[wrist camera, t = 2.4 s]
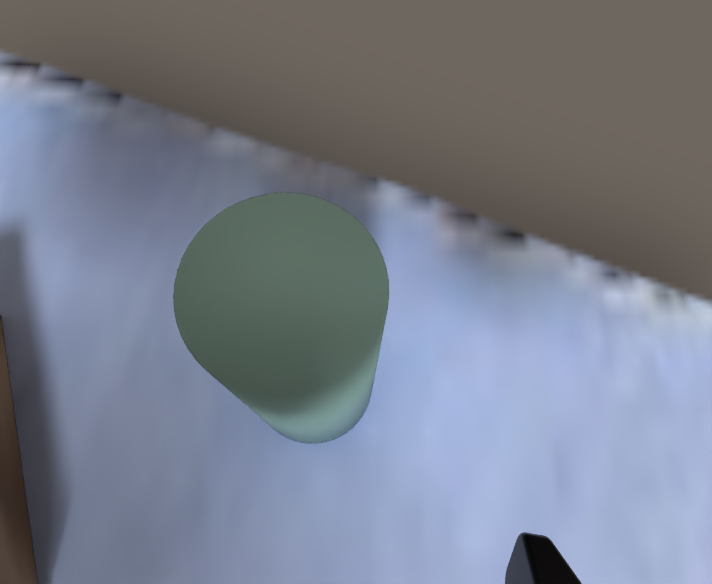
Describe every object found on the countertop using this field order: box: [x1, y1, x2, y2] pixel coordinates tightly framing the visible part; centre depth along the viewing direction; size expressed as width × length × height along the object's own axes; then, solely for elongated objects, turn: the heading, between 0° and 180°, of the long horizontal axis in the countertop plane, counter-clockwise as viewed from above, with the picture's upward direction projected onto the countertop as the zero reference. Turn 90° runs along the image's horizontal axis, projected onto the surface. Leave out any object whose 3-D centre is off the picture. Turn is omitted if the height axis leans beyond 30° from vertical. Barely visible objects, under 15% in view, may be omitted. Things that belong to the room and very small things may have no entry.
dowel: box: [173, 193, 389, 443], centre depth 16 cm, size 4×4×10 cm
